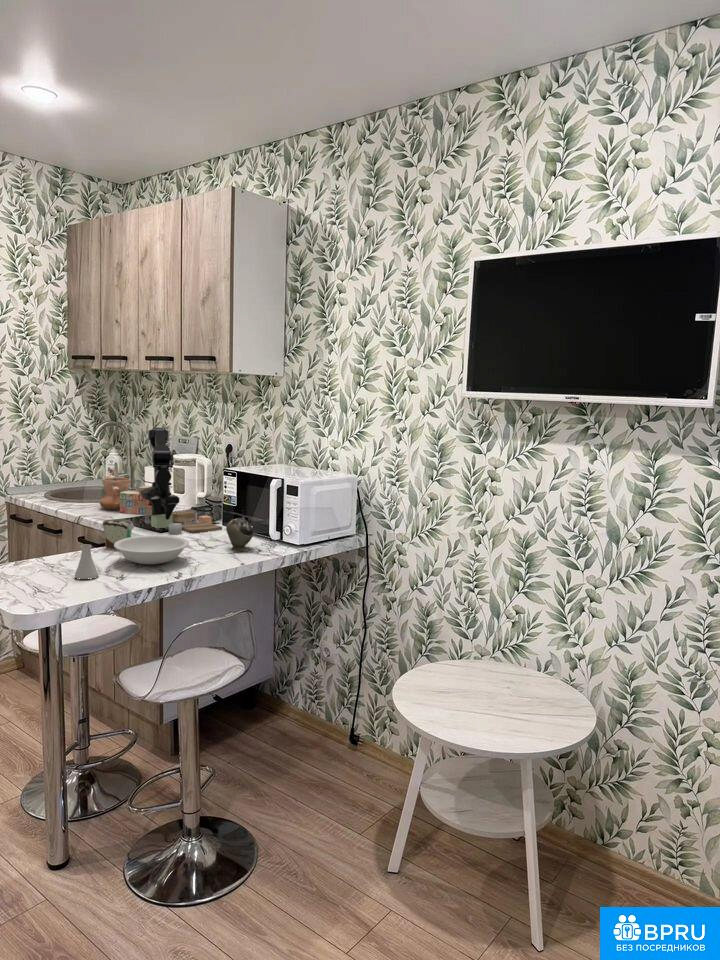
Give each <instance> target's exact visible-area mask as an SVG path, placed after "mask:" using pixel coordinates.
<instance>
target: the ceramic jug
mask: <svg viewBox="0 0 720 960" xmlns="http://www.w3.org/2000/svg"><path fill="white" fill-rule="evenodd" d="M102 484H103V488H104V490H105V492H106V495H105V496H103V497H102V498H101V499H100V500H99V505H100V507H101V508H103V509H105V510H107V511H109V510H110V511H120V500H119V493H121V492H124V491H129V488H130V485H131V478H129V477H128V478H127V477H122V476H108V477H103V478H102Z"/></svg>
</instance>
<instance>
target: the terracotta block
mask: <svg viewBox="0 0 720 960" xmlns="http://www.w3.org/2000/svg"><path fill="white" fill-rule="evenodd" d="M212 517H213V516H210V515H200V516H198V519H197V520H198V522H199V523H201V522H209V523H212V524H213V522H212V519H213V518H212ZM198 522H197V523H198Z"/></svg>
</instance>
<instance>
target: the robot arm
mask: <svg viewBox="0 0 720 960" xmlns="http://www.w3.org/2000/svg"><path fill="white" fill-rule="evenodd" d="M169 433H170V432H169V430H167V429H166V427H154V428H152V429H150V430H148V432H147V441H149V446H150V447H151V448H152V450H153V452H151V460H152V461H151V462H152V468H153V478H154V479H153V482H152V484H151V485H150V486H151V487H149V488H146V489H144V490H142V491H141V495H142V497H143V499H146V500H148V501H149V506H152V515H161V514H165V517H166V520H168V519H169V518H170V516H172V513H174V512H173V511H174V510H175V509H176V506H177V505H178V504H180V497H179V496H178V495H175V494H172V492H171V491H170V492H169V487H170V486H172V482H170V481H171V480H172V474H171V472H170V468H173V466H174V464H175V463H174V462H175V461H174V460H175V459H174V454H173V452H171V449H170V447H169V446H167V443H168V441H169V439H170V438H169V437H170V435H169ZM152 515H151V516H152ZM151 516H149V517H148V519H150V520H151Z"/></svg>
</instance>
